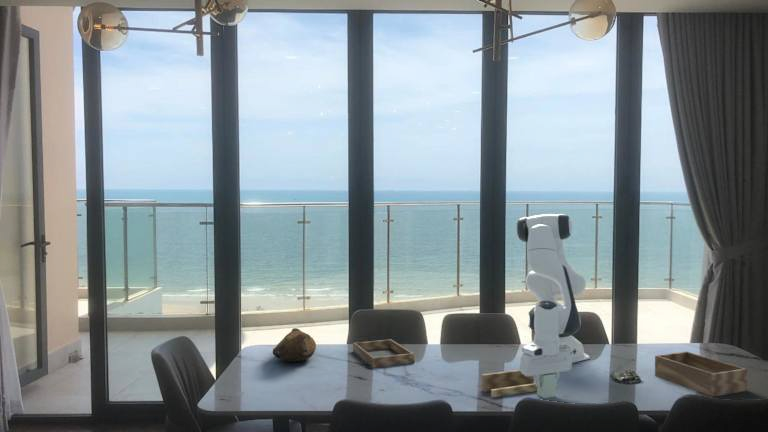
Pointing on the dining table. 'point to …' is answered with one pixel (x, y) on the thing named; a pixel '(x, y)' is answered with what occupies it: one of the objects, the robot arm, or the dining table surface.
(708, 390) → the open wooden box
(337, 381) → the dining table surface
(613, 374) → the mottled grey lump
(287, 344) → the brown rough lump
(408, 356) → the rectangular wooden frame
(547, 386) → the cabinet block
